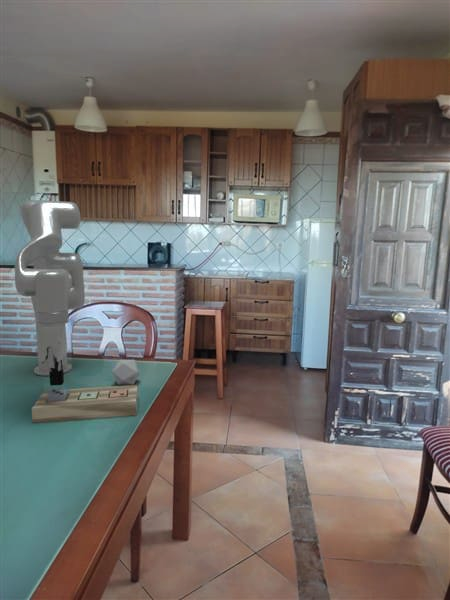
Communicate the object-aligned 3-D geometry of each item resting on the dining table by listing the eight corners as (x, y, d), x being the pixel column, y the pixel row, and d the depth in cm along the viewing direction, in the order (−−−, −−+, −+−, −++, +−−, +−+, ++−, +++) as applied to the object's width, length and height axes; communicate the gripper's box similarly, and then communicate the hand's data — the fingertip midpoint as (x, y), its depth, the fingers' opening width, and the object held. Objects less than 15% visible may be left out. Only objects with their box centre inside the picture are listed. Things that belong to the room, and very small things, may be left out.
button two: (111, 401, 110) (111, 390, 109) (127, 399, 110) (127, 389, 110) (109, 407, 105) (109, 396, 105) (126, 406, 106) (126, 395, 106)
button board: (45, 404, 110) (44, 390, 109) (137, 397, 115) (137, 385, 114) (32, 423, 98) (31, 408, 98) (136, 415, 103) (135, 401, 103)
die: (125, 392, 121) (143, 366, 123) (103, 377, 122) (120, 351, 124) (131, 391, 129) (147, 367, 131) (110, 378, 130) (126, 353, 132)
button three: (51, 400, 106) (51, 389, 106) (68, 399, 107) (67, 388, 107) (47, 406, 102) (46, 395, 102) (65, 405, 103) (64, 394, 103)
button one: (82, 402, 108) (81, 392, 108) (98, 401, 109) (97, 391, 108) (79, 409, 104) (78, 398, 103) (96, 408, 105) (95, 397, 104)
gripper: (45, 313, 108) (49, 376, 110) (29, 323, 93) (34, 395, 96) (73, 312, 109) (77, 374, 112) (61, 322, 95) (65, 393, 97)
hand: (57, 384), depth 104 cm, fingers closed
